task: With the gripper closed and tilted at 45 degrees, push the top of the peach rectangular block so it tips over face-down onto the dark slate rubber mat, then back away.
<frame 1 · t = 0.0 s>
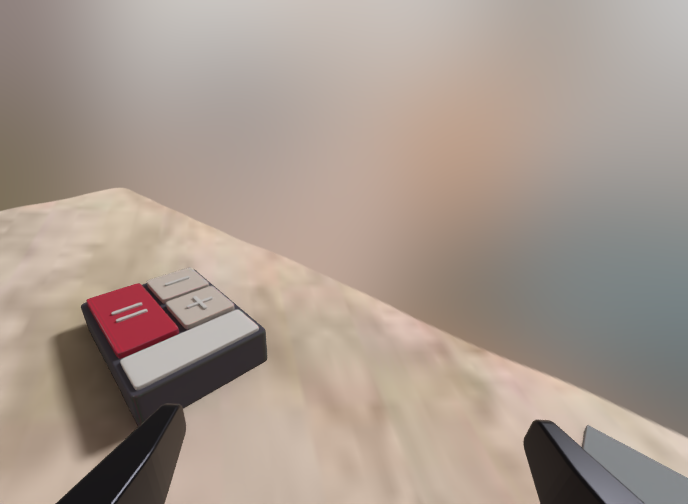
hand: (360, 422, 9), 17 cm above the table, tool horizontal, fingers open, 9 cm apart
red and grey box: (176, 345, 33), on the table
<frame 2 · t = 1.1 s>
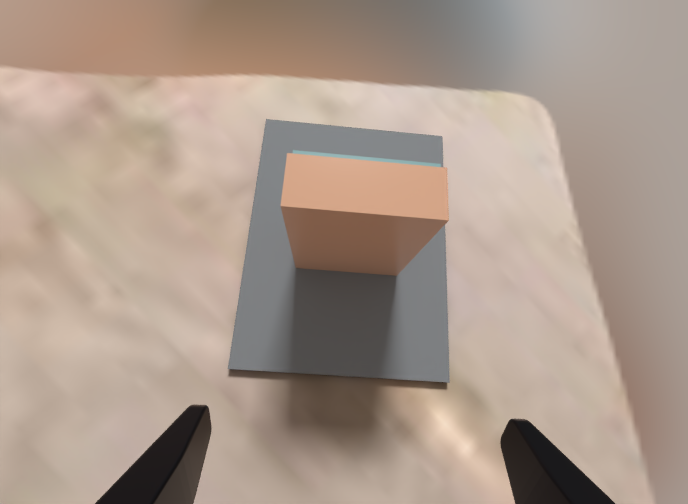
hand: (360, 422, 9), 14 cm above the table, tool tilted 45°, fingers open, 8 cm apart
peach rectangular block: (347, 254, 24), resting on mat
mat: (348, 239, 25), on the table
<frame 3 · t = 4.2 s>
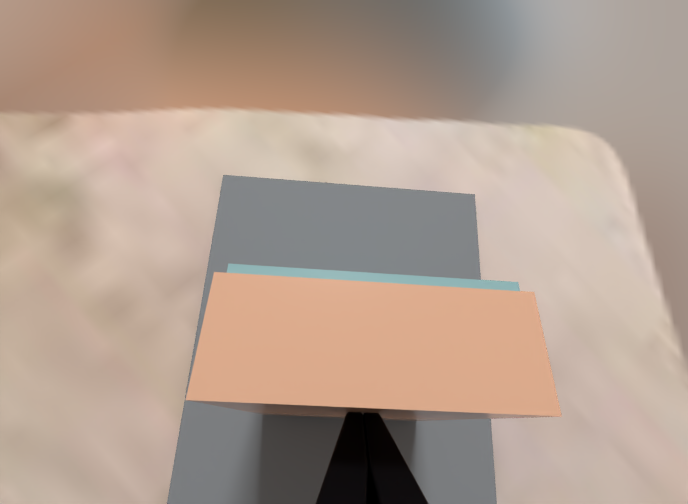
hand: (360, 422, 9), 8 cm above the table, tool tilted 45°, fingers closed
peach rectangular block: (342, 387, 16), point 1 cm above the table, tilted 9°, touching mat
mat: (342, 359, 17), on the table
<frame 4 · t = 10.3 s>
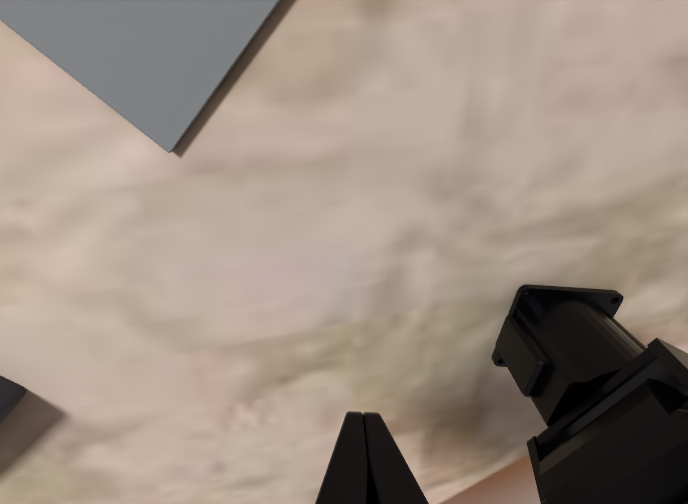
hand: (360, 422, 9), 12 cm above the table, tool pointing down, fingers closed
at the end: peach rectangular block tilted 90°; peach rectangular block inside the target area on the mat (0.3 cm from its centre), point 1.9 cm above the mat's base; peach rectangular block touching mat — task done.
